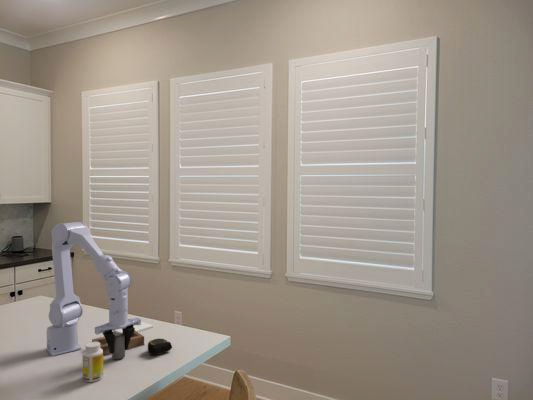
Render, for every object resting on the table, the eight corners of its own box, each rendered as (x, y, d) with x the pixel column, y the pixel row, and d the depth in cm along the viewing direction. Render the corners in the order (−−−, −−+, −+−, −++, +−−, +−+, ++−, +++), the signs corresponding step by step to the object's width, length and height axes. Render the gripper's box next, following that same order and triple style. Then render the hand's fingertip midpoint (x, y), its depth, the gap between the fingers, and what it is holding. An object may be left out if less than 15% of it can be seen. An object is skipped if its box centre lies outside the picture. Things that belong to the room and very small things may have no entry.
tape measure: (154, 358, 133) (154, 347, 133) (143, 352, 138) (143, 341, 138) (172, 352, 138) (172, 341, 138) (161, 346, 143) (161, 336, 143)
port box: (101, 356, 134) (100, 346, 134) (92, 347, 141) (92, 338, 141) (144, 344, 144) (144, 336, 144) (133, 337, 151) (133, 329, 150)
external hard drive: (152, 329, 161) (125, 338, 151) (140, 324, 166) (113, 333, 156) (152, 325, 161) (125, 334, 151) (140, 320, 166) (113, 329, 156)
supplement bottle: (105, 373, 122) (105, 340, 121) (99, 382, 116) (99, 347, 116) (86, 374, 121) (86, 340, 121) (79, 383, 116) (79, 348, 115)
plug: (114, 360, 130) (114, 338, 130) (110, 356, 133) (110, 335, 133) (126, 356, 133) (126, 335, 132) (122, 352, 136) (122, 332, 135)
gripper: (99, 317, 124) (100, 360, 125) (144, 308, 134) (144, 348, 134) (92, 311, 130) (92, 353, 130) (136, 303, 139) (136, 342, 140)
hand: (118, 350), depth 133 cm, fingers closed on plug, 4 cm apart
